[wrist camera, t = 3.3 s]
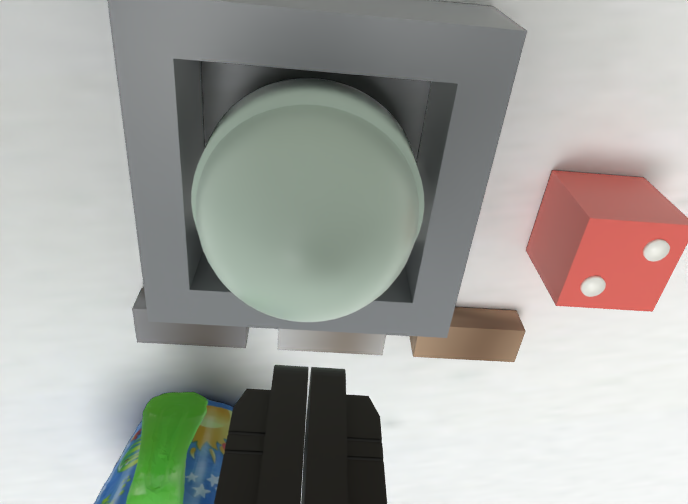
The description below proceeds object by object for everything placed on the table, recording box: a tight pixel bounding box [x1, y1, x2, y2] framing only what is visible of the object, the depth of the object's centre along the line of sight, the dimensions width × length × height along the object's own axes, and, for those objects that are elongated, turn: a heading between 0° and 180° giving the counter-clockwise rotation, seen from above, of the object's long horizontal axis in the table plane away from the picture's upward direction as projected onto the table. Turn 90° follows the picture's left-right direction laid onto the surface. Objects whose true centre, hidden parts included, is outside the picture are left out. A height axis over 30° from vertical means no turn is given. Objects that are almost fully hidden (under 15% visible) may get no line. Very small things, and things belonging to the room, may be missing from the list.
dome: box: [191, 78, 424, 322], centre depth 18 cm, size 8×8×7 cm
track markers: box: [132, 288, 525, 362], centre depth 32 cm, size 18×21×2 cm
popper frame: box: [108, 0, 527, 338], centre depth 21 cm, size 12×12×4 cm
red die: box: [526, 170, 688, 311], centre depth 23 cm, size 4×4×4 cm
